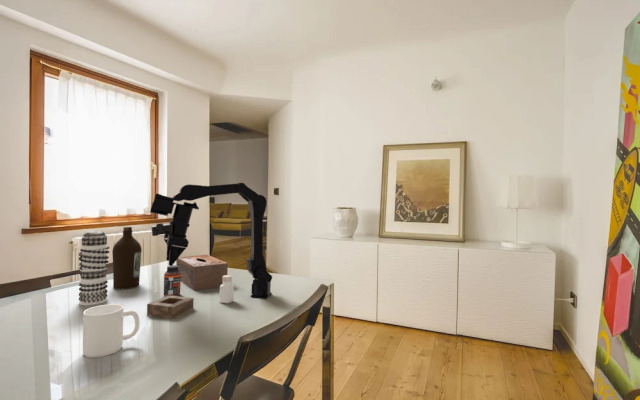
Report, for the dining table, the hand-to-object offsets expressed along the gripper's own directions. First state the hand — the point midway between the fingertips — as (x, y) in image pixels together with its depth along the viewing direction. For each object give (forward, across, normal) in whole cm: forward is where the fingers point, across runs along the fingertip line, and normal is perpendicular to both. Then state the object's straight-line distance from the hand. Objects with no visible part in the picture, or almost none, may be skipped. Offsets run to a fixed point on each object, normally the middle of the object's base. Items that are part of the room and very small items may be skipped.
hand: (169, 262), depth 115 cm
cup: (+18, +29, -11) cm, 36 cm away
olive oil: (+18, -35, -9) cm, 41 cm away
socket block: (+15, +6, +4) cm, 17 cm away
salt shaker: (+11, +3, +22) cm, 25 cm away
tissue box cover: (+12, -31, +19) cm, 38 cm away
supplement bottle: (+15, -14, +6) cm, 21 cm away
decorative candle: (+20, -17, -19) cm, 33 cm away
